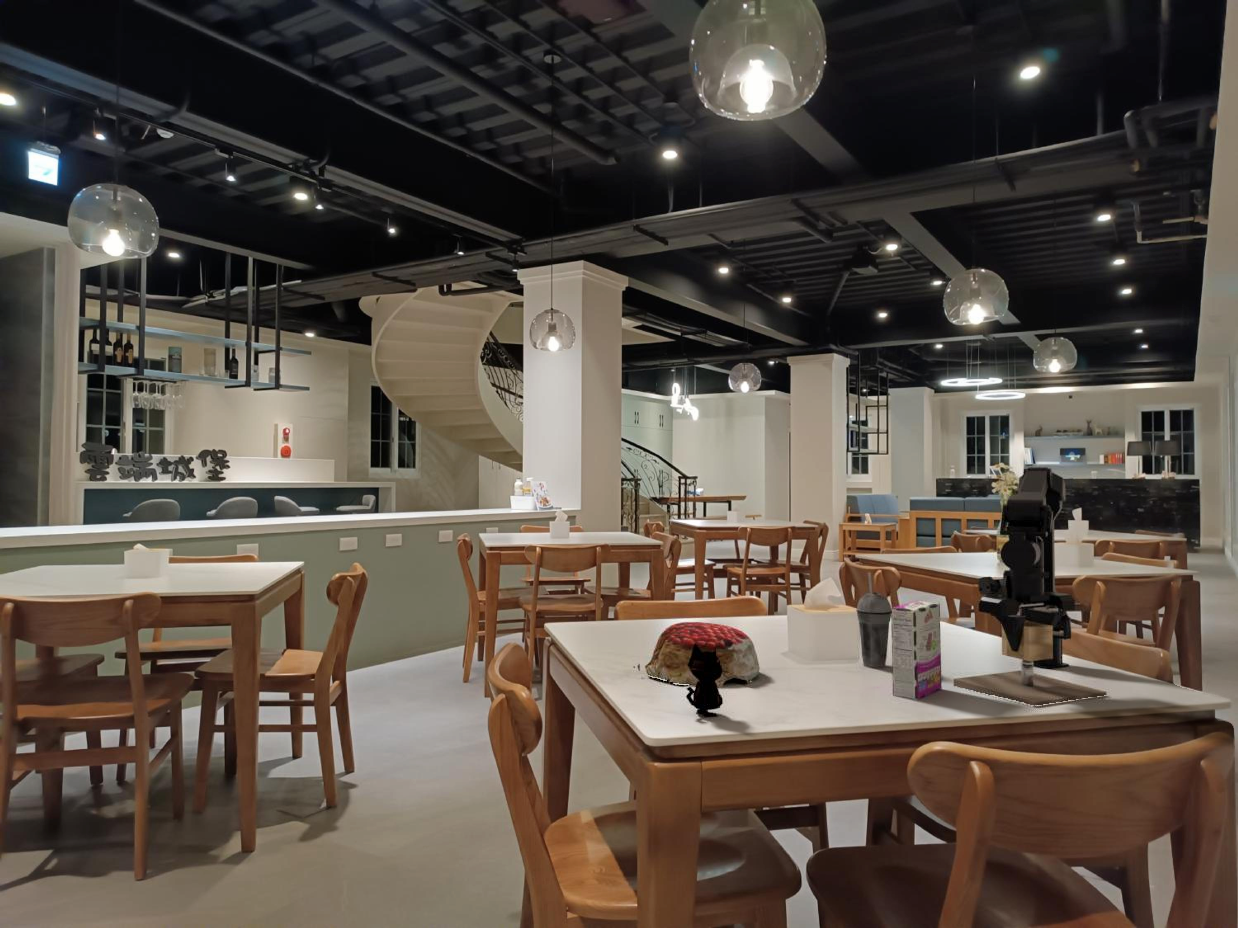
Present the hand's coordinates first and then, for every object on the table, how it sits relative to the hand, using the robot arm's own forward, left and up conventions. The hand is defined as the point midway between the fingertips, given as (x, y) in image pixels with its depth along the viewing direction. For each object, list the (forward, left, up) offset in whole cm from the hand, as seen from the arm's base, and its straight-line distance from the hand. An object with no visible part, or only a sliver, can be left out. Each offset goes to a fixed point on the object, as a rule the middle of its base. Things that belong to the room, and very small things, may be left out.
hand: (1027, 649), depth 151 cm
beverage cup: (+11, -29, -8) cm, 32 cm away
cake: (+49, -37, -8) cm, 62 cm away
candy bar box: (+19, -8, -8) cm, 22 cm away
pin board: (0, 0, -8) cm, 8 cm away
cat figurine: (+63, -9, -8) cm, 64 cm away
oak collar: (0, 0, -1) cm, 1 cm away
